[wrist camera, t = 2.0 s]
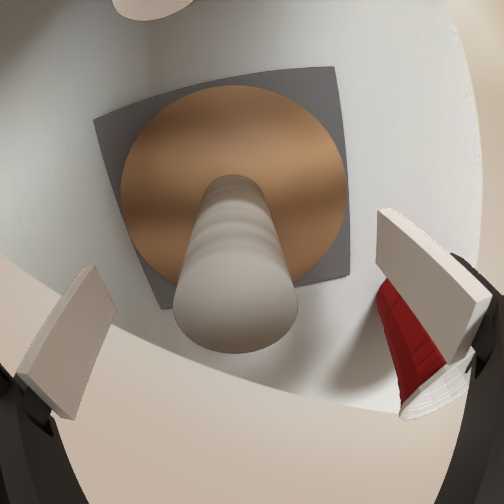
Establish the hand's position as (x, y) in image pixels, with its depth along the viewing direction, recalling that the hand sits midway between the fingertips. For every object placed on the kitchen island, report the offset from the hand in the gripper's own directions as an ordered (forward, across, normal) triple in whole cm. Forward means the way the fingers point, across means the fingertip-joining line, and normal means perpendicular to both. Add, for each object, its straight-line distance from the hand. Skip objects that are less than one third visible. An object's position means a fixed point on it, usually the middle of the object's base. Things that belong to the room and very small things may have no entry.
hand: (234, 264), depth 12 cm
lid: (+8, 0, 0) cm, 8 cm away
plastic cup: (+8, +14, -12) cm, 20 cm away
